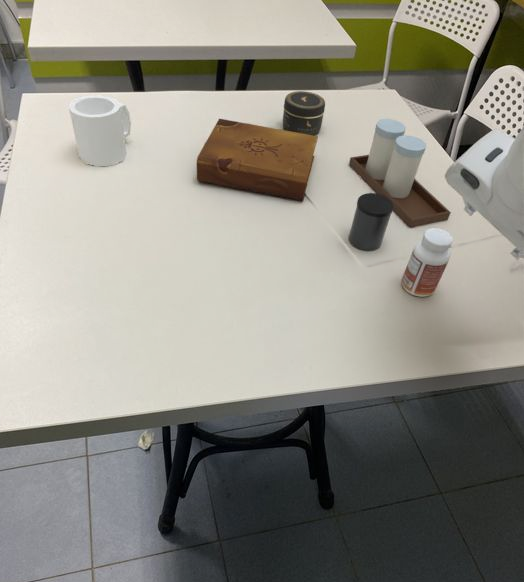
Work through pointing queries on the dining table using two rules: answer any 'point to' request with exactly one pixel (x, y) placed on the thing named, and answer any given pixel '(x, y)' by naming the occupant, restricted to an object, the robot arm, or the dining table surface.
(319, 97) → the jar
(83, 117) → the mug
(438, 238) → the pill bottle
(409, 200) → the tray
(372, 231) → the grey tin
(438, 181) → the dining table surface
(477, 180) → the robot arm
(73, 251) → the dining table surface
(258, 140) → the diary
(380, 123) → the white bottle
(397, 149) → the white bottle
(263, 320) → the dining table surface
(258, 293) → the dining table surface
